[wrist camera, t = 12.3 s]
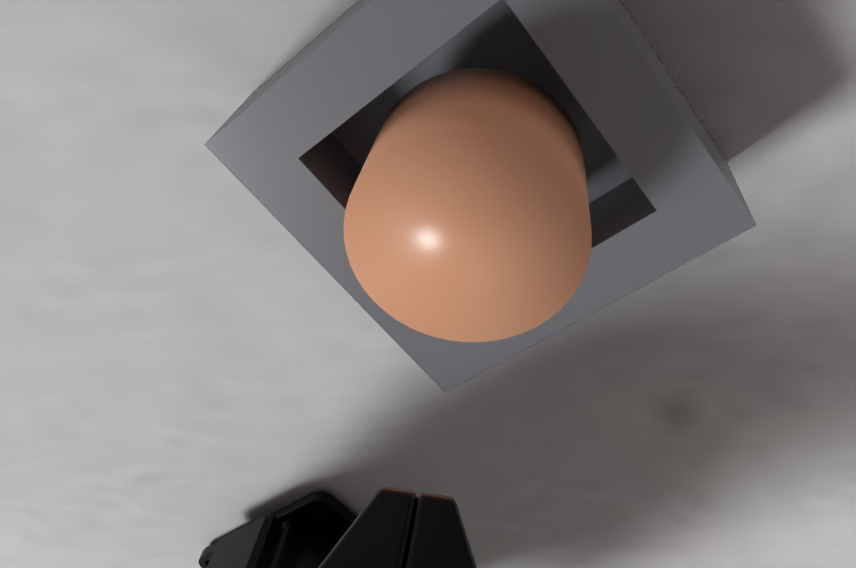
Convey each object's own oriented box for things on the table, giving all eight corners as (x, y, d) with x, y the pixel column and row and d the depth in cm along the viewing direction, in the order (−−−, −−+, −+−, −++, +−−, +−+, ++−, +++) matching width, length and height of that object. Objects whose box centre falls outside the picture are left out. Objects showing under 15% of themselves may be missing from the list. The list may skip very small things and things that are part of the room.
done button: (625, 193, 16) (640, 269, 14) (459, 293, 18) (445, 376, 15) (500, 21, 14) (489, 71, 12) (331, 150, 16) (293, 217, 14)
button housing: (727, 162, 18) (756, 225, 15) (456, 320, 21) (444, 392, 19) (525, -145, 15) (520, -128, 13) (250, 94, 18) (204, 144, 16)
